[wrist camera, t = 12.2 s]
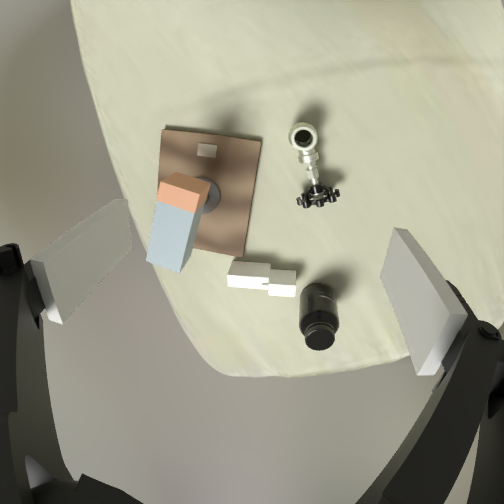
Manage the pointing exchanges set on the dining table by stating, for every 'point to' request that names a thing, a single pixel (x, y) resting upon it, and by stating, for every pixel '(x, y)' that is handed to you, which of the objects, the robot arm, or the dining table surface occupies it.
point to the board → (215, 183)
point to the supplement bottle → (318, 316)
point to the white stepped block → (262, 278)
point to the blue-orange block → (176, 220)
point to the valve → (311, 168)
